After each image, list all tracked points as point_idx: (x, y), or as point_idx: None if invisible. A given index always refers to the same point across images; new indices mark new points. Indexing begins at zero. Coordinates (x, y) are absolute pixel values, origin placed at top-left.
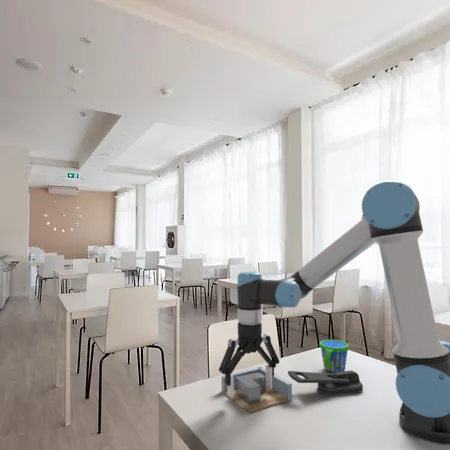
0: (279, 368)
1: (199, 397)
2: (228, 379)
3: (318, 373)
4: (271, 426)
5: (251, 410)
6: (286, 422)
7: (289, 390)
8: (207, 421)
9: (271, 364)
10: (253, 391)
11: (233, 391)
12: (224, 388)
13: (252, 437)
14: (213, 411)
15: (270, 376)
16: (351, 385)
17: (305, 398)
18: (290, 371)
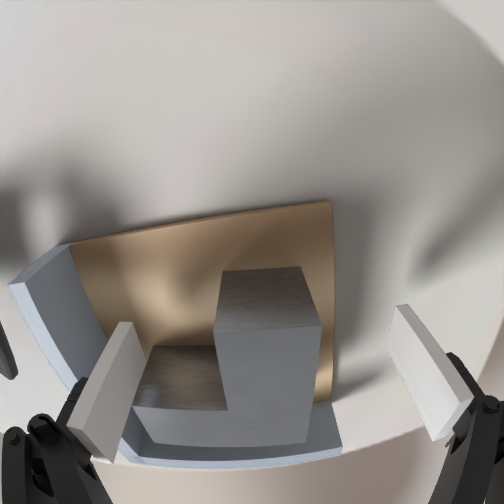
0: None
1: None
2: (464, 381)
3: None
4: (283, 34)
5: (318, 205)
6: (182, 40)
7: (39, 266)
8: (492, 220)
9: (62, 447)
10: (275, 309)
11: (411, 325)
12: (330, 409)
13: (406, 18)
14: (446, 281)
15: (102, 377)
16: None
17: (10, 236)
18: (2, 371)
